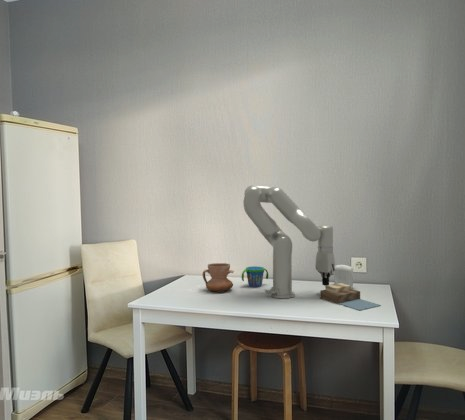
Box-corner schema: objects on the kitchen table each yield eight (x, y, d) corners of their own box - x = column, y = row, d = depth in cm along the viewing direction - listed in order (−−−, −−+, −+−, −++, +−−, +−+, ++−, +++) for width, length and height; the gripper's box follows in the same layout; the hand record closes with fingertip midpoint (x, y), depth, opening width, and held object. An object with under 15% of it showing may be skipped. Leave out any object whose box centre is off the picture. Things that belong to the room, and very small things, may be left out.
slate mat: (359, 310, 194) (359, 309, 194) (338, 304, 205) (338, 303, 205) (380, 305, 201) (380, 305, 201) (359, 299, 212) (359, 298, 212)
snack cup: (265, 282, 250) (265, 265, 249) (271, 287, 240) (271, 268, 239) (239, 284, 246) (239, 267, 246) (244, 289, 236) (244, 270, 236)
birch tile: (335, 293, 209) (335, 288, 209) (325, 290, 215) (325, 285, 215) (350, 290, 214) (350, 285, 214) (340, 287, 220) (340, 282, 220)
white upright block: (354, 287, 235) (354, 265, 235) (351, 289, 232) (351, 266, 231) (336, 285, 242) (336, 263, 241) (333, 286, 238) (333, 264, 237)
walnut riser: (337, 304, 205) (337, 295, 204) (320, 298, 215) (320, 290, 215) (360, 299, 212) (360, 291, 212) (342, 294, 223) (342, 286, 222)
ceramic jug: (238, 288, 238) (238, 262, 237) (229, 294, 224) (228, 267, 224) (208, 286, 244) (208, 261, 244) (197, 292, 231) (196, 266, 230)
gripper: (310, 248, 225) (310, 283, 227) (330, 252, 213) (330, 289, 214) (320, 247, 229) (321, 281, 231) (341, 250, 217) (341, 286, 218)
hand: (325, 284), depth 222 cm, fingers closed
